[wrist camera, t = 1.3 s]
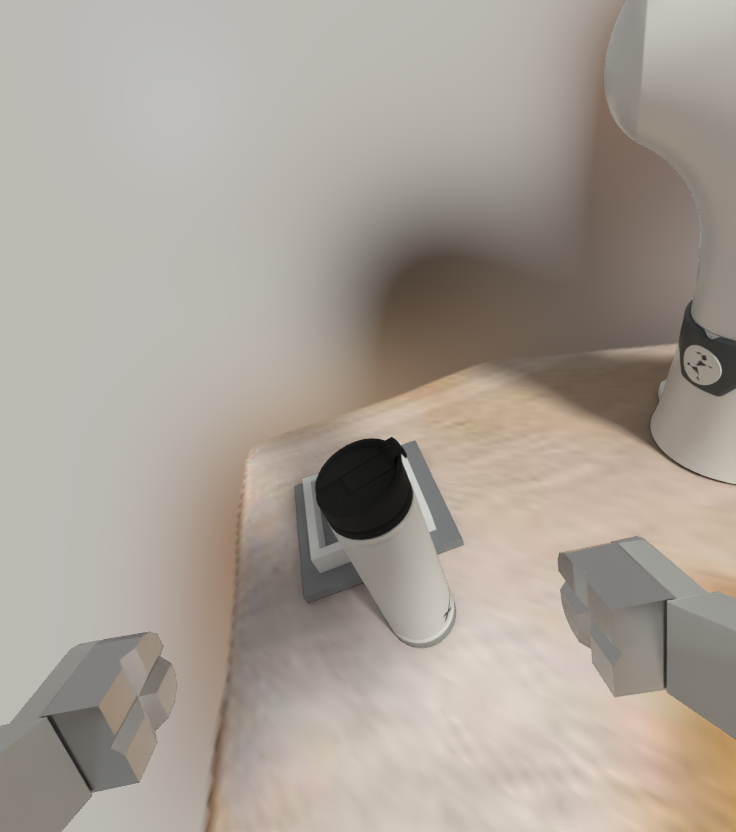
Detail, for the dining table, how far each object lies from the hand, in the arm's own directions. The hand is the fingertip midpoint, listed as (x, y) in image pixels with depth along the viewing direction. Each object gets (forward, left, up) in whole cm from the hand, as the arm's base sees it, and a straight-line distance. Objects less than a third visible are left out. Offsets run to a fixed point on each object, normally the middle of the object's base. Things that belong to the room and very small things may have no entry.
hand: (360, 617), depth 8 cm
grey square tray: (+3, -28, -30) cm, 41 cm away
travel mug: (+1, -15, -30) cm, 34 cm away
